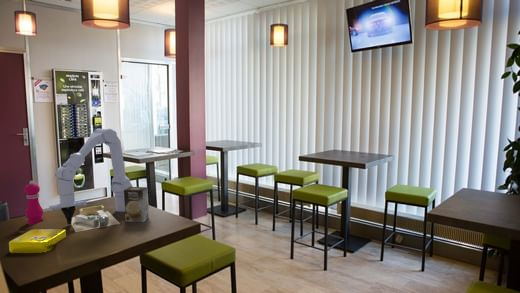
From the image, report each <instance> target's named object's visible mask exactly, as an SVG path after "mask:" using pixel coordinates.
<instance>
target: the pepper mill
mask: <svg viewBox="0 0 520 293" xmlns="http://www.w3.org/2000/svg"><path fill="white" fill-rule="evenodd" d="M40 190H41V189H40V186H39V185H38V184H35V181H33V180H30V181H29V184H27V185H26V186H25V187H24V193H25V194H26V199H27V206H26V209H25V217H26V218H27V221H26V222H27V225H30V226H31V225H35V224H39V223H43V222H44V217H43V216H44V210H43V207H42V205H41V204H40V200H39V197H40V194H39V193H40Z"/></svg>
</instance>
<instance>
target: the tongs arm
mask: <svg viewBox="0 0 520 293" xmlns="http://www.w3.org/2000/svg"><path fill="white" fill-rule="evenodd" d="M74 217H75V222H78V223H82V224H86V225H90V226H97V225H99V219H97V218H96V216H92V215H91V216H84V215H80V214H77V215H74Z"/></svg>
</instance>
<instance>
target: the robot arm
mask: <svg viewBox="0 0 520 293" xmlns="http://www.w3.org/2000/svg"><path fill="white" fill-rule="evenodd" d="M102 144H104V145H106V146H107V147H109V148H108V149H109V151H110V152H109V153H110V160H111V161H110V162H111V165H112V166H111V168H112V173H113V178H112V179H111V185H110V186H111V187H110V188H111V189H110V190H111V192H112V193H113V195H114V203H115V204H114V205H115V212H119V213H121V212H124V213H125V202H124V190H125V189H126V188H128V187H134V186H133V184H132V182H131V179H130V178H129V177H128V176H127V175H126V169H125V163H124V156H123V148H122V142H121V139H120V138H119V136H118V133H117V131H116V130H114V129H112V128H98V127H97V128H95V129H94V130H93V132H91V133H90V135H89V138H88V139H87V140H86V141H85V143H84V144H83V145H82V147H81V148H80V150H79V151H78V152H74V153H71V154H70V155H69V158H68V159H67V161H65V162H64V163H63V164H62V166H59V167H58V168H57V169H56V171H55V173H54V177H55V178H56V179H57V182H58V193H59V202H60V203H56V204H52V205H48V211H49V212H53V211H58V210H60V211H62V213H63V215H64V217H65V220H66V223H67V225H71V223H72V217H74V214H75V212H76V208H77V207H83V206H87V201H86V200H77V201H76V198H75V186H74V179H75V177H76V175H77V174H76V173H77V171H78V170H79V169H80V168H81V166H82V165H83V164H84V163H85V162H86V160H85V159H86V158H85V157H86V156H88V155H89V153H90V152H91V151H92V150H93V149H94V148H95V147H96V146H98V145H102Z"/></svg>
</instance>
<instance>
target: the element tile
mask: <svg viewBox="0 0 520 293" xmlns="http://www.w3.org/2000/svg"><path fill="white" fill-rule="evenodd" d="M66 237H67V230H66V229H65V228H63V229H62V228H60V229H58V228H56V229H55V228H53V229H52V228H51V229H50V228H47V229H40V228H39V229H37V228H36V229H31V230H29V231H27V232H25V233H23V234H20V235H19V236H17V237H15V238H13V239H12V240H10V241H9V242H8V246H9V247H8V248H9V250H8V251H9V253H10V254H41V253H42V252H44V253H47V251H48V252H50V251H51V250H53V249H54V248H56V247H57V245H56V244H57V243H59V242H60V241H62V240H63V239H65V238H66Z"/></svg>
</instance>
